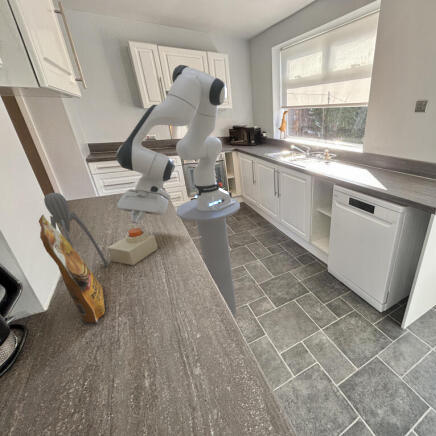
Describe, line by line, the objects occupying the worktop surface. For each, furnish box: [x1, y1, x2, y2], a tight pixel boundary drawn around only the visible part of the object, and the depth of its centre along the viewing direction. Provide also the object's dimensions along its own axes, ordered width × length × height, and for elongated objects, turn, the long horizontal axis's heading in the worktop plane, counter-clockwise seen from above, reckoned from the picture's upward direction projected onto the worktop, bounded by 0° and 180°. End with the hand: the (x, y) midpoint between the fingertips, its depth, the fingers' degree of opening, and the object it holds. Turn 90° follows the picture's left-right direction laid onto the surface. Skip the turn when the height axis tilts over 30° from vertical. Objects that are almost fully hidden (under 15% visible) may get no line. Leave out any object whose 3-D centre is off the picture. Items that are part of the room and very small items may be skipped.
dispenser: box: [106, 229, 158, 266], centre depth 93 cm, size 12×10×8 cm
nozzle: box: [127, 227, 143, 237], centre depth 93 cm, size 4×4×2 cm
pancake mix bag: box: [38, 214, 106, 324], centre depth 64 cm, size 7×19×28 cm, turn 38°
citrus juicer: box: [43, 192, 108, 268], centre depth 75 cm, size 11×10×30 cm
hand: (134, 222), depth 92 cm, fingers closed
